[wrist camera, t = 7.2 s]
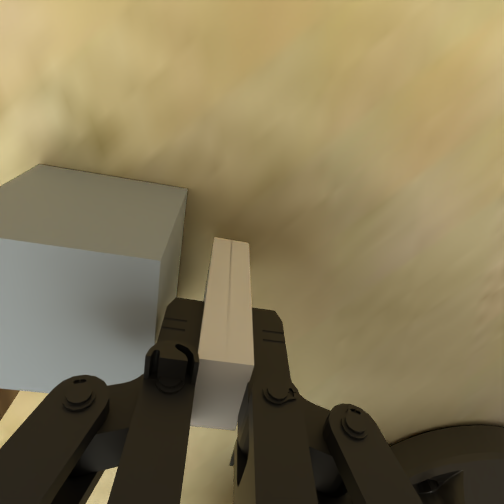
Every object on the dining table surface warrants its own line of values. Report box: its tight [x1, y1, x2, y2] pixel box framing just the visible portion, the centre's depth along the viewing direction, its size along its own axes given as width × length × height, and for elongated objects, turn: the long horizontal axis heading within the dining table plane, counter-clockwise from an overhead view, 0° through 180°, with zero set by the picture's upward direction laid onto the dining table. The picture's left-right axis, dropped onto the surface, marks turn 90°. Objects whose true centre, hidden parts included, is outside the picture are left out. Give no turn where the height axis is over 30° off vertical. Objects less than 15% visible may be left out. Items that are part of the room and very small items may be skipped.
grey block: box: [0, 164, 188, 393], centre depth 14 cm, size 6×6×6 cm
